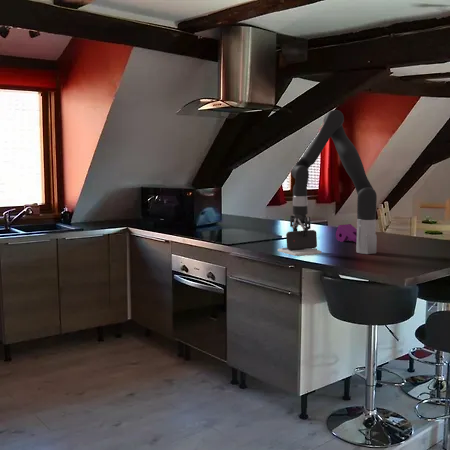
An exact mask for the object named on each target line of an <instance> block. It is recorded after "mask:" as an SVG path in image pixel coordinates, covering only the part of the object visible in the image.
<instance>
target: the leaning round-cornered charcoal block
mask: <svg viewBox="0 0 450 450" xmlns="http://www.w3.org/2000/svg"><path fill="white" fill-rule="evenodd" d="M285 237H286V248H287V249H288V250H300V249H314V248H317V247H318V239H317V231H316V230H314V229H308V236H307V237H306V238H304V237H303V230H297V231H293V230H292V231H288V232H286V235H285Z"/></svg>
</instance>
